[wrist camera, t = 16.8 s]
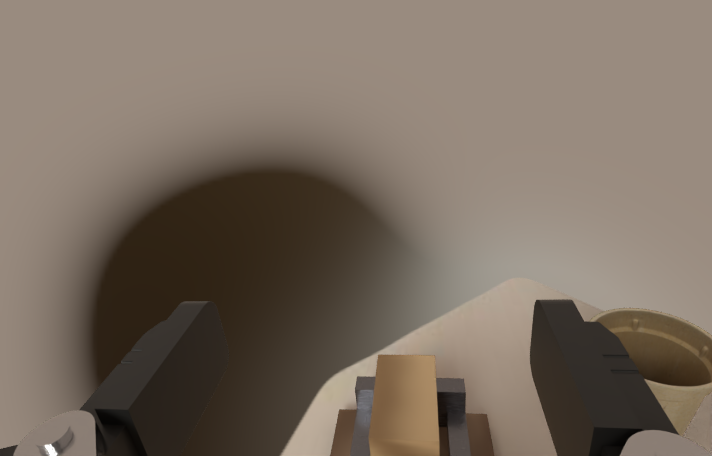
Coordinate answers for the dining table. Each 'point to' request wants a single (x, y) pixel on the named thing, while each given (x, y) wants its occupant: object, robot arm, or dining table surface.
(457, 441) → the cradle
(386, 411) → the oak plank
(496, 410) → the dining table surface
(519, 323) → the dining table surface
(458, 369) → the dining table surface
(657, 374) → the flower pot
